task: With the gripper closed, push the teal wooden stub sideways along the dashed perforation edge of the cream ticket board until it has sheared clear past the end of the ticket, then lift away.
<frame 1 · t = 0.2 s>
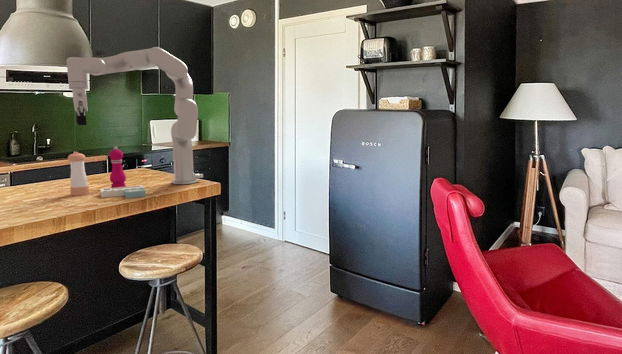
hand: (81, 124, 199), 31 cm above the table, tool pointing down, fingers open, 9 cm apart
pepper shaker: (80, 194, 199), on the table
pepper mill: (118, 187, 214), on the table
stub: (134, 193, 195), point 1 cm above the table, slide at 0.0 cm
ticket: (123, 193, 199), on the table
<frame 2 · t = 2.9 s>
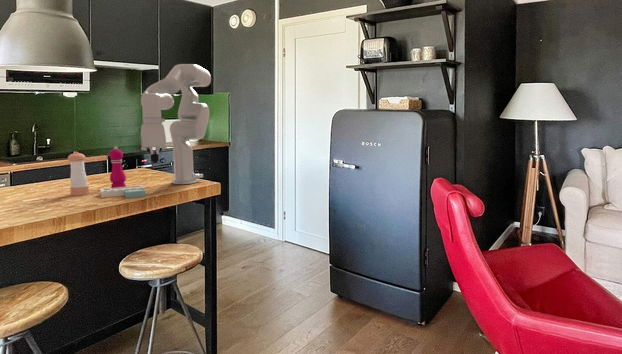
hand: (154, 162, 197), 14 cm above the table, tool pointing down, fingers closed
nothing on the table moved.
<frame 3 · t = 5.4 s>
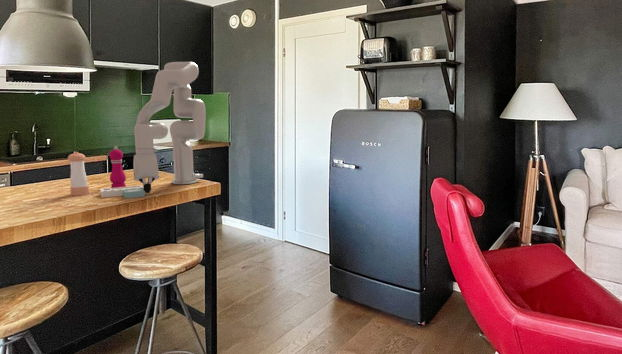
hand: (147, 192, 197), 1 cm above the table, tool pointing down, fingers closed
stub: (133, 193, 194), point 1 cm above the table, slide at 0.3 cm, touching gripper
everything else where it was.
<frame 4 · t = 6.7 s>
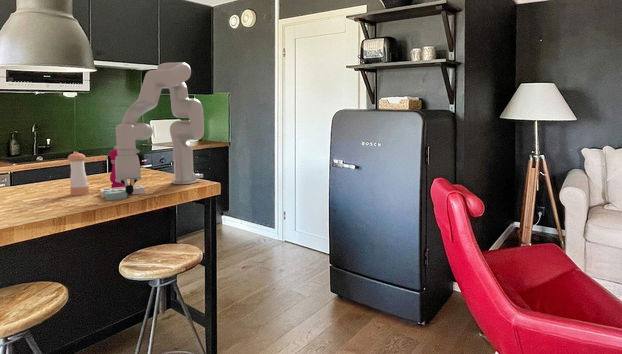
hand: (129, 194, 194), 1 cm above the table, tool pointing down, fingers closed
stub: (115, 194, 191), point 1 cm above the table, slide at 7.8 cm, touching gripper
everything else where it was.
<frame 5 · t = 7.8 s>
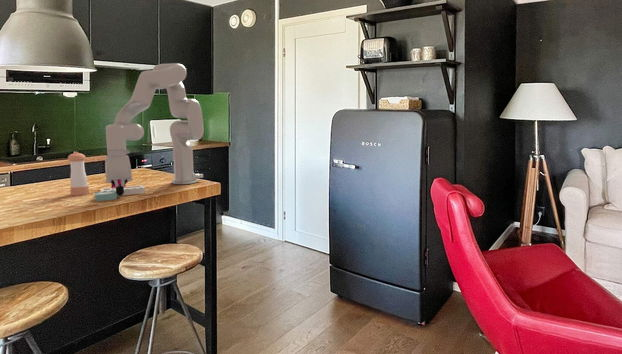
hand: (120, 195, 192), 1 cm above the table, tool pointing down, fingers closed
stub: (105, 195, 189), point 1 cm above the table, slide at 11.7 cm, touching gripper
everything else where it was.
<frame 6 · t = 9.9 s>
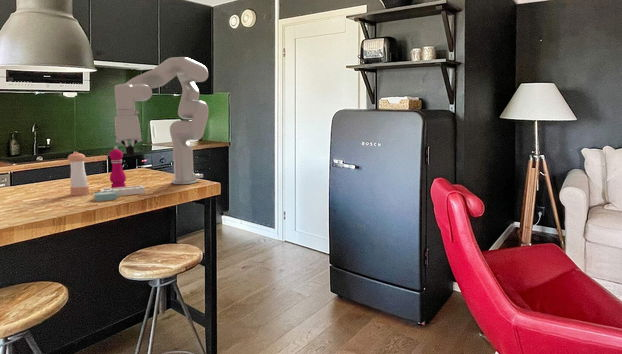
hand: (130, 155, 194), 18 cm above the table, tool pointing down, fingers closed
stub: (105, 195, 189), point 1 cm above the table, slide at 11.8 cm
everything else where it was.
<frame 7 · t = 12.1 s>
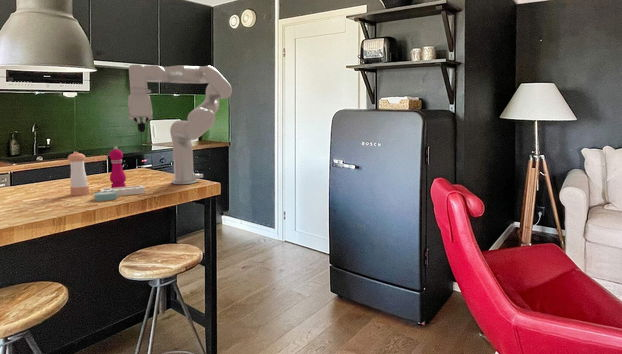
hand: (141, 131, 207), 27 cm above the table, tool pointing down, fingers closed
nothing on the table moved.
at the end: stub slide at 11.8 cm; stub inside the target area (0.8 cm from its centre), on the table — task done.
